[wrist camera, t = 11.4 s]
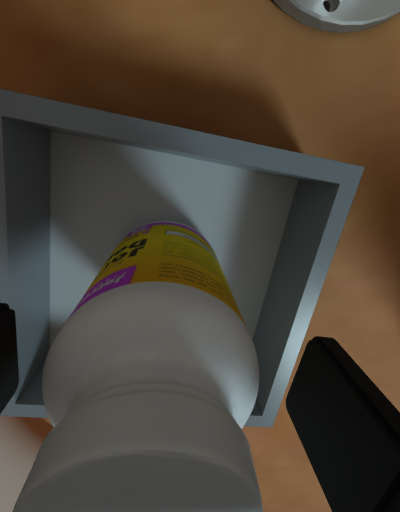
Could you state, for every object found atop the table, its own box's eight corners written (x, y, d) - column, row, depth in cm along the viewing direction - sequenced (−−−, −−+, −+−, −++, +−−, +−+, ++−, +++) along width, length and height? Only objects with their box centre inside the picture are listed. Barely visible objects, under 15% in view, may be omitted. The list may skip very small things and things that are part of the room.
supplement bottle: (151, 195, 15) (66, 323, 3) (236, 257, 17) (388, 486, 5) (92, 280, 17) (-120, 591, 5) (176, 329, 18) (182, 641, 6)
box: (39, 110, 14) (-27, 82, 9) (309, 167, 16) (364, 167, 12) (41, 353, 19) (-3, 415, 14) (250, 369, 21) (271, 427, 17)
